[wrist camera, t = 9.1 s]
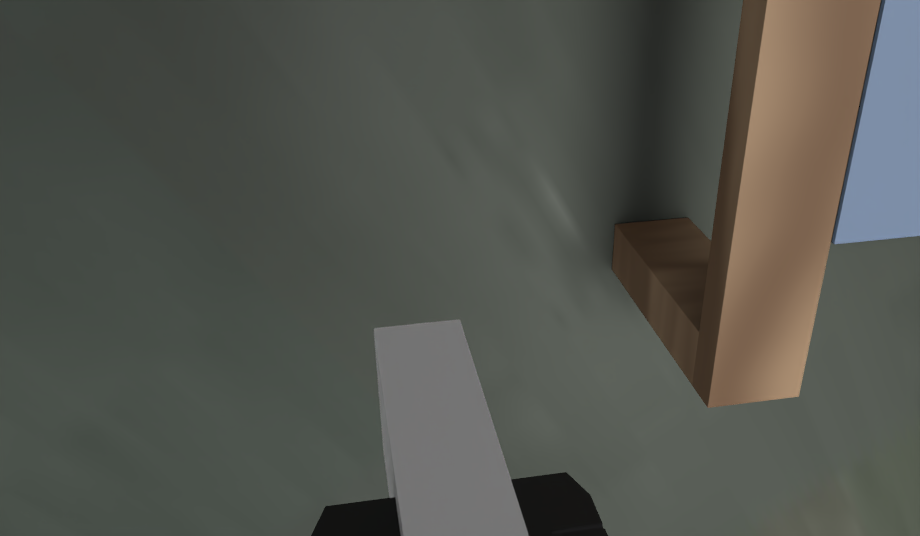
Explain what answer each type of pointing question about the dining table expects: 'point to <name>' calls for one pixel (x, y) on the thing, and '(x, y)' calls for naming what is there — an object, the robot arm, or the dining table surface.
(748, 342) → the bridge
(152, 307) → the dining table surface
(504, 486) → the robot arm
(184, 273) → the dining table surface
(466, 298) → the dining table surface
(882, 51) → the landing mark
